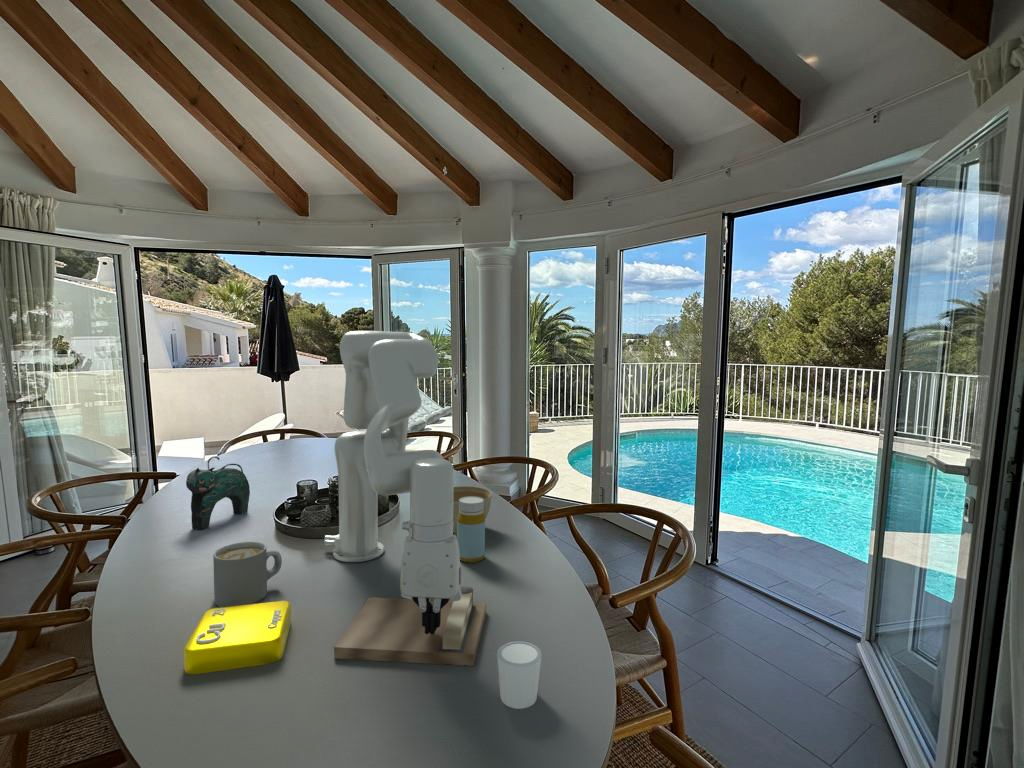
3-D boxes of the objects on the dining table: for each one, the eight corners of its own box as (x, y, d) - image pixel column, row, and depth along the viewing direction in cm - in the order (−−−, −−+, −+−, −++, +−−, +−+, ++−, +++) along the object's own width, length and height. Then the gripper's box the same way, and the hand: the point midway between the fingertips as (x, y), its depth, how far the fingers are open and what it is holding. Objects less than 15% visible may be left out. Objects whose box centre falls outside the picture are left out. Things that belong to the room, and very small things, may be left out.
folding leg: (458, 600, 107) (458, 586, 107) (473, 601, 107) (474, 586, 106) (442, 649, 90) (442, 631, 90) (460, 649, 90) (460, 632, 89)
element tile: (281, 664, 90) (280, 637, 89) (180, 678, 85) (179, 650, 85) (292, 620, 104) (291, 596, 104) (206, 630, 100) (205, 605, 99)
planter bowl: (425, 534, 150) (425, 497, 149) (452, 518, 165) (452, 483, 164) (476, 543, 144) (476, 504, 143) (499, 525, 159) (500, 489, 158)
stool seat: (334, 658, 91) (334, 645, 91) (369, 606, 109) (369, 596, 109) (473, 666, 89) (473, 653, 89) (485, 612, 107) (486, 601, 107)
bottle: (480, 564, 130) (481, 504, 129) (453, 562, 132) (453, 502, 131) (487, 554, 137) (488, 497, 136) (461, 551, 139) (462, 495, 137)
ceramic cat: (198, 532, 149) (196, 462, 148) (181, 530, 151) (179, 460, 150) (253, 512, 168) (252, 449, 166) (237, 509, 170) (236, 448, 169)
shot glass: (495, 683, 85) (495, 641, 84) (537, 681, 85) (538, 639, 85) (497, 712, 78) (498, 667, 77) (544, 710, 79) (545, 665, 78)
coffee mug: (218, 612, 105) (217, 563, 105) (211, 593, 113) (210, 547, 113) (289, 594, 113) (288, 549, 113) (278, 578, 121) (277, 535, 121)
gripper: (383, 535, 90) (383, 639, 92) (470, 539, 89) (469, 644, 90) (396, 520, 98) (396, 617, 99) (477, 524, 96) (476, 622, 98)
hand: (431, 630), depth 95 cm, fingers closed
